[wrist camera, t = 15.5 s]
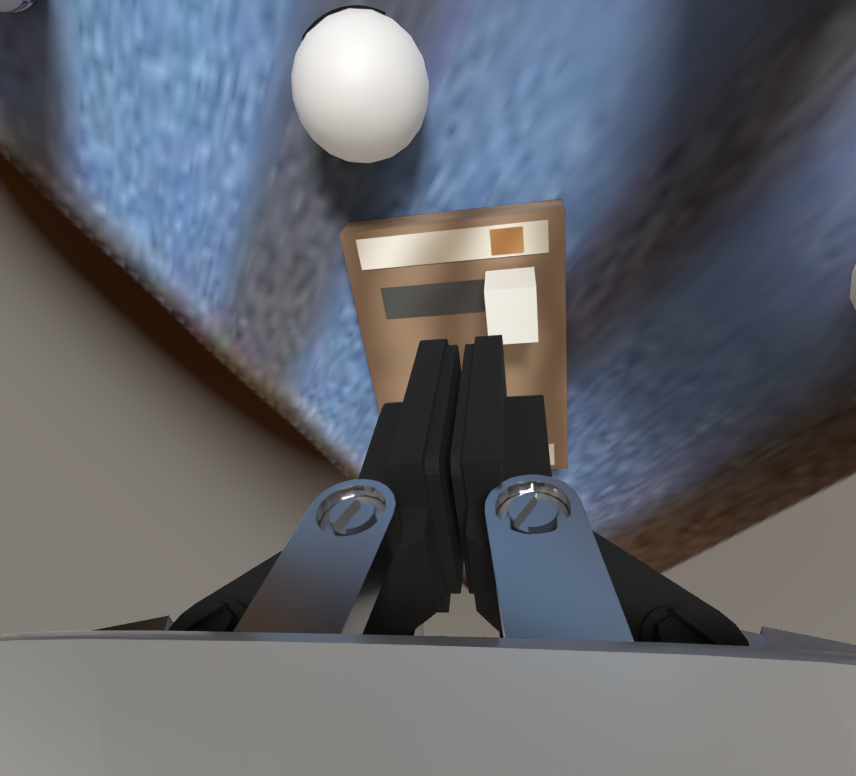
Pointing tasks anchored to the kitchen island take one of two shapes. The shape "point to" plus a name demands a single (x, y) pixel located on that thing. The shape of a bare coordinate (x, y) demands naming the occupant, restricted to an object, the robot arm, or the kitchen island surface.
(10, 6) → the energy drink
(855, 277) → the french press
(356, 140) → the seamed sphere
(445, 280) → the switch board
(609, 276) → the kitchen island surface
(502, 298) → the tab
